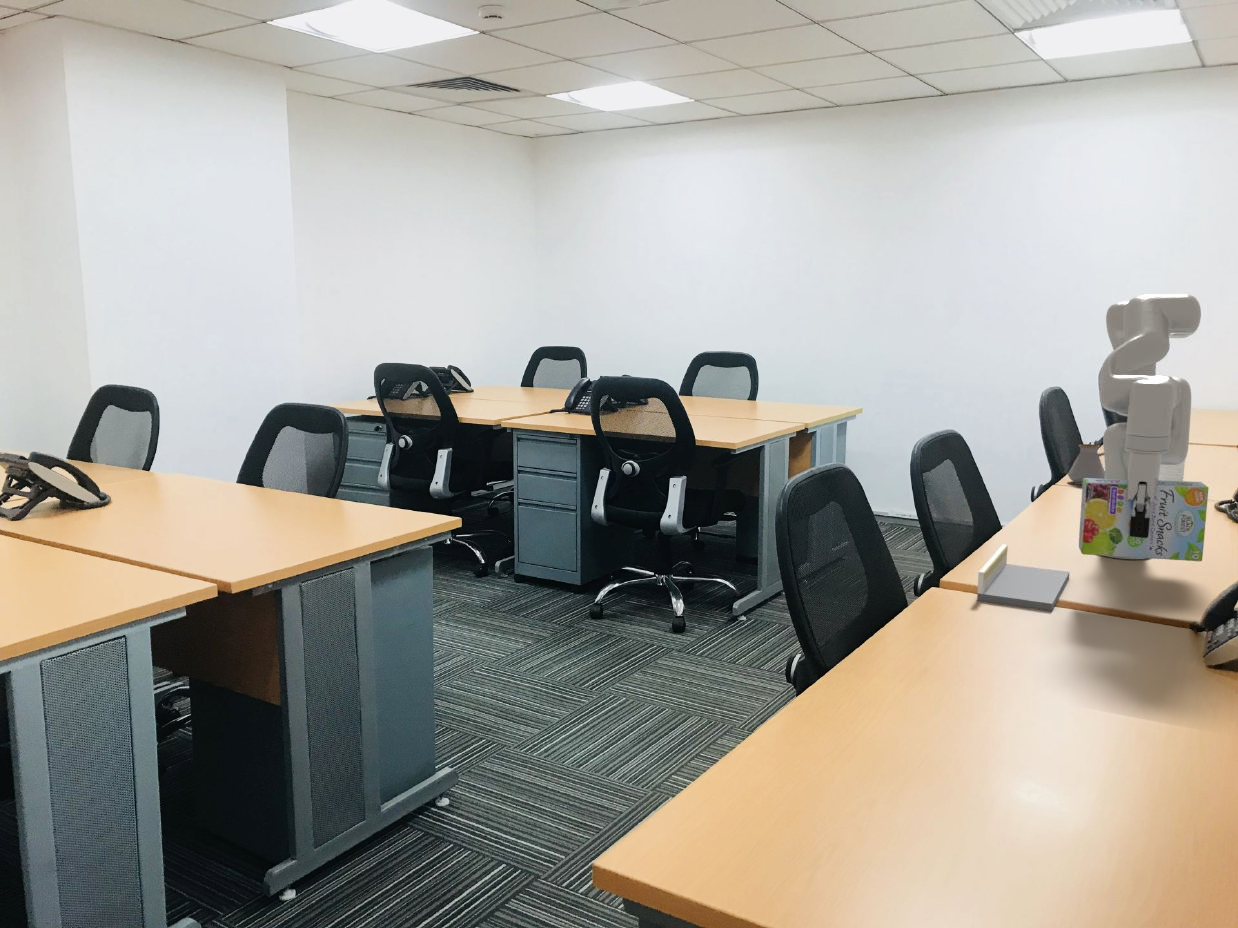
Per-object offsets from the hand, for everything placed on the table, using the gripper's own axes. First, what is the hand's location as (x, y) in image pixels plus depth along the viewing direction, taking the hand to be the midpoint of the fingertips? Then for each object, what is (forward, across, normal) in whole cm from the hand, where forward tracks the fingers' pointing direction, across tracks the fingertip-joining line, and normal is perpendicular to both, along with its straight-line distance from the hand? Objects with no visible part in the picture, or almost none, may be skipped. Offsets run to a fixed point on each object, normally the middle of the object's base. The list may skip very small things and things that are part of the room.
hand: (1140, 531), depth 187 cm
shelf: (+15, +1, -20) cm, 25 cm away
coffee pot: (+19, -135, -18) cm, 138 cm away
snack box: (+5, 0, 0) cm, 5 cm away
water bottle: (+17, -76, +3) cm, 78 cm away
